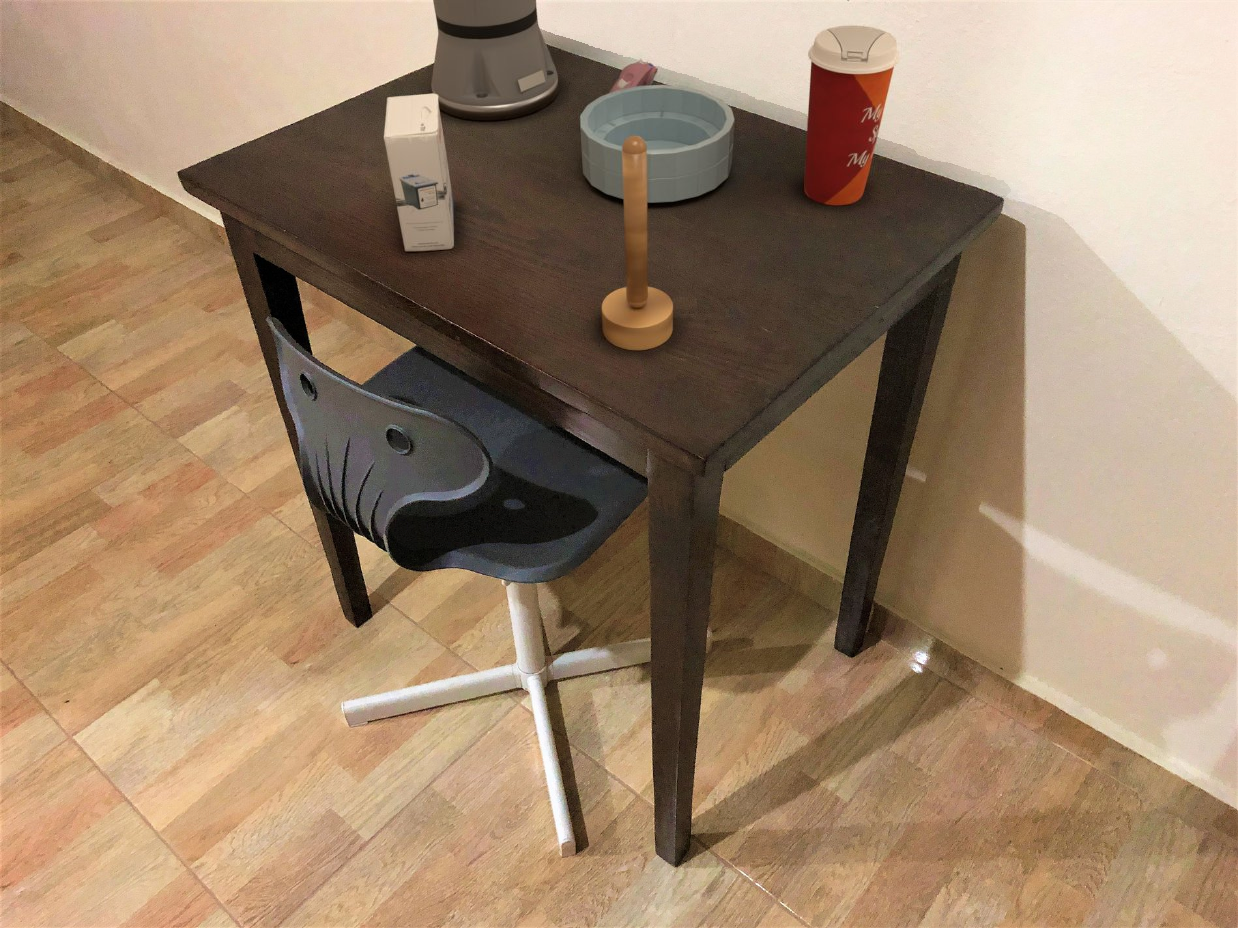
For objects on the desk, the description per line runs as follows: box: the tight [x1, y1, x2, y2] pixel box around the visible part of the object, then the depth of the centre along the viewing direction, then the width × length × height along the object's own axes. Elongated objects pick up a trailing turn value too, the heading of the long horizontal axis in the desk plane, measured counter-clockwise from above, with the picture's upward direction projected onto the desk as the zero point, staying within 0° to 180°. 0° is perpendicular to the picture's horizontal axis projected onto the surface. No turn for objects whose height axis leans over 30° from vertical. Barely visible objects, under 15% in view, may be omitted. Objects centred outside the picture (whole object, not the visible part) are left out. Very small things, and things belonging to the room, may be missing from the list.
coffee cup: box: [803, 25, 900, 206], centre depth 90 cm, size 8×8×15 cm
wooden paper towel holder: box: [601, 136, 674, 351], centre depth 73 cm, size 6×6×17 cm
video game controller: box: [609, 58, 658, 93], centre depth 107 cm, size 10×5×7 cm, turn 158°
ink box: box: [383, 93, 455, 252], centre depth 88 cm, size 9×5×12 cm, turn 7°
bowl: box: [579, 84, 736, 204], centre depth 97 cm, size 16×16×6 cm
